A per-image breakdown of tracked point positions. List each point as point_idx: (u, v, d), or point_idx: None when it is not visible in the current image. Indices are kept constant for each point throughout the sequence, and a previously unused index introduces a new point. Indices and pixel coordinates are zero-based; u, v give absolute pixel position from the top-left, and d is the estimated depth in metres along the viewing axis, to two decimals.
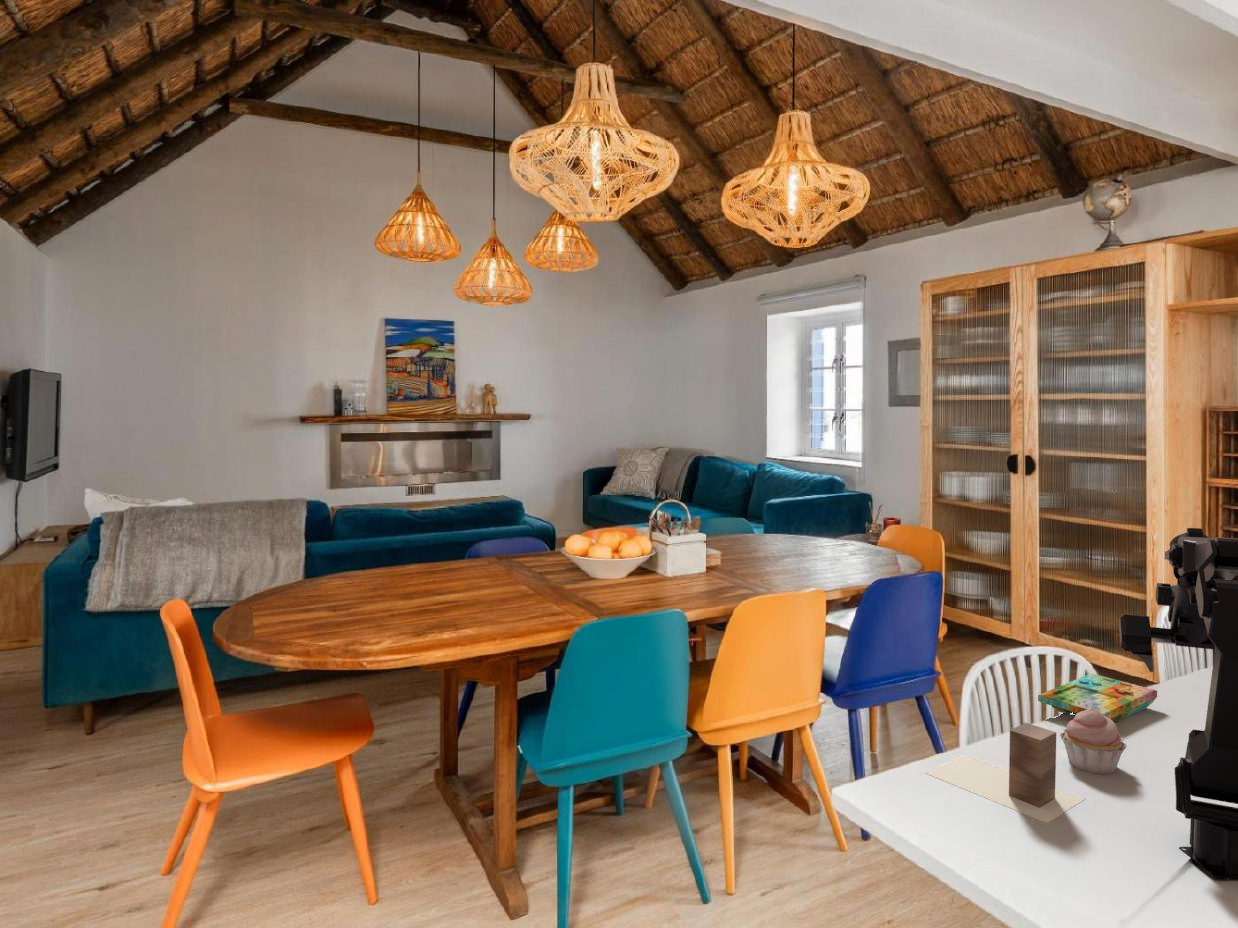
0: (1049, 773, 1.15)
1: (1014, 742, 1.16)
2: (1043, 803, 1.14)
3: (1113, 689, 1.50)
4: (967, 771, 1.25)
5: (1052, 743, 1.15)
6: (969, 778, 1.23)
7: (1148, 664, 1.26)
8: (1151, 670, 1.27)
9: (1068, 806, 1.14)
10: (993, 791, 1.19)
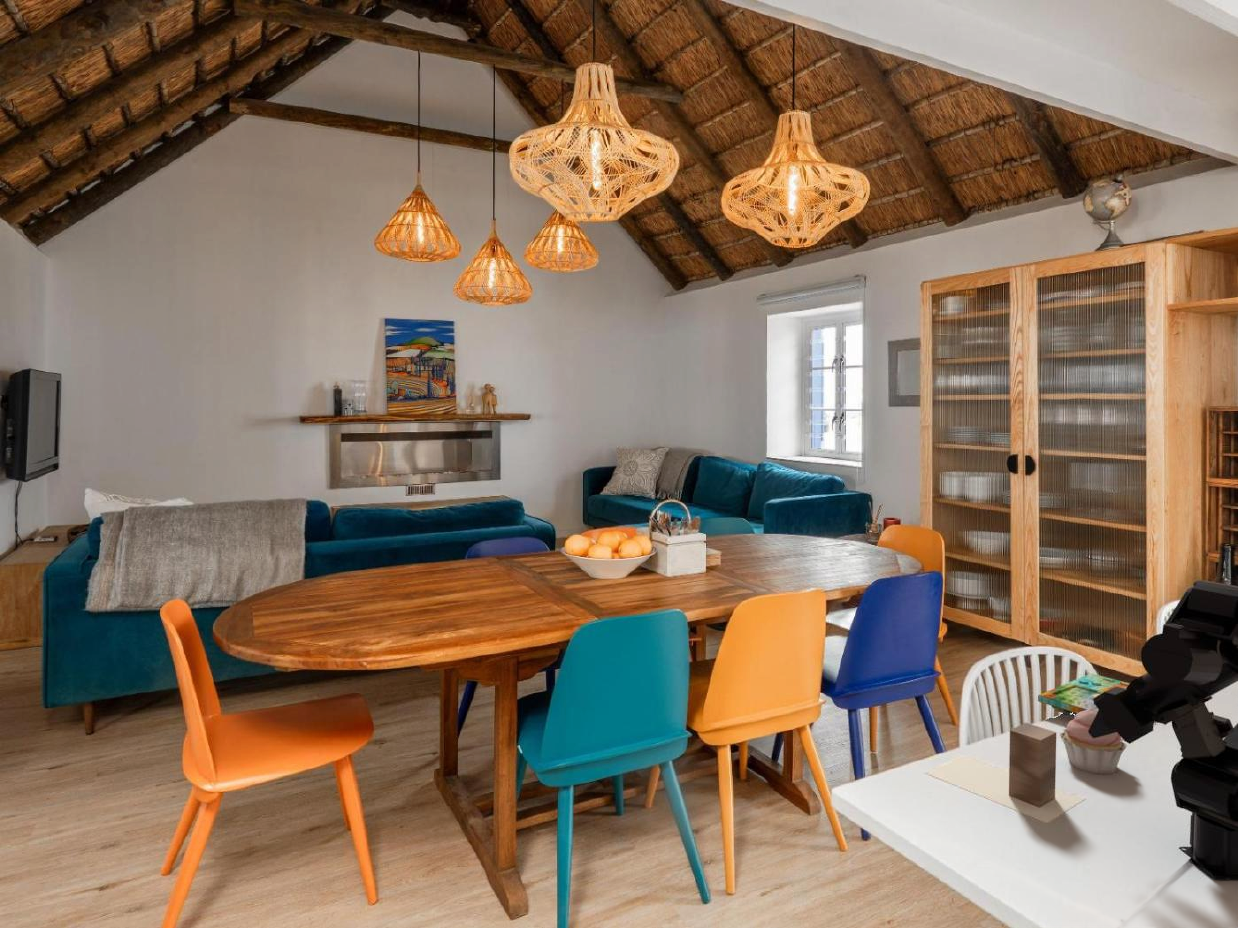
0: (1049, 773, 1.15)
1: (1014, 742, 1.16)
2: (1043, 803, 1.14)
3: None
4: (967, 771, 1.25)
5: (1052, 743, 1.15)
6: (969, 778, 1.23)
7: None
8: None
9: (1068, 806, 1.14)
10: (993, 791, 1.19)
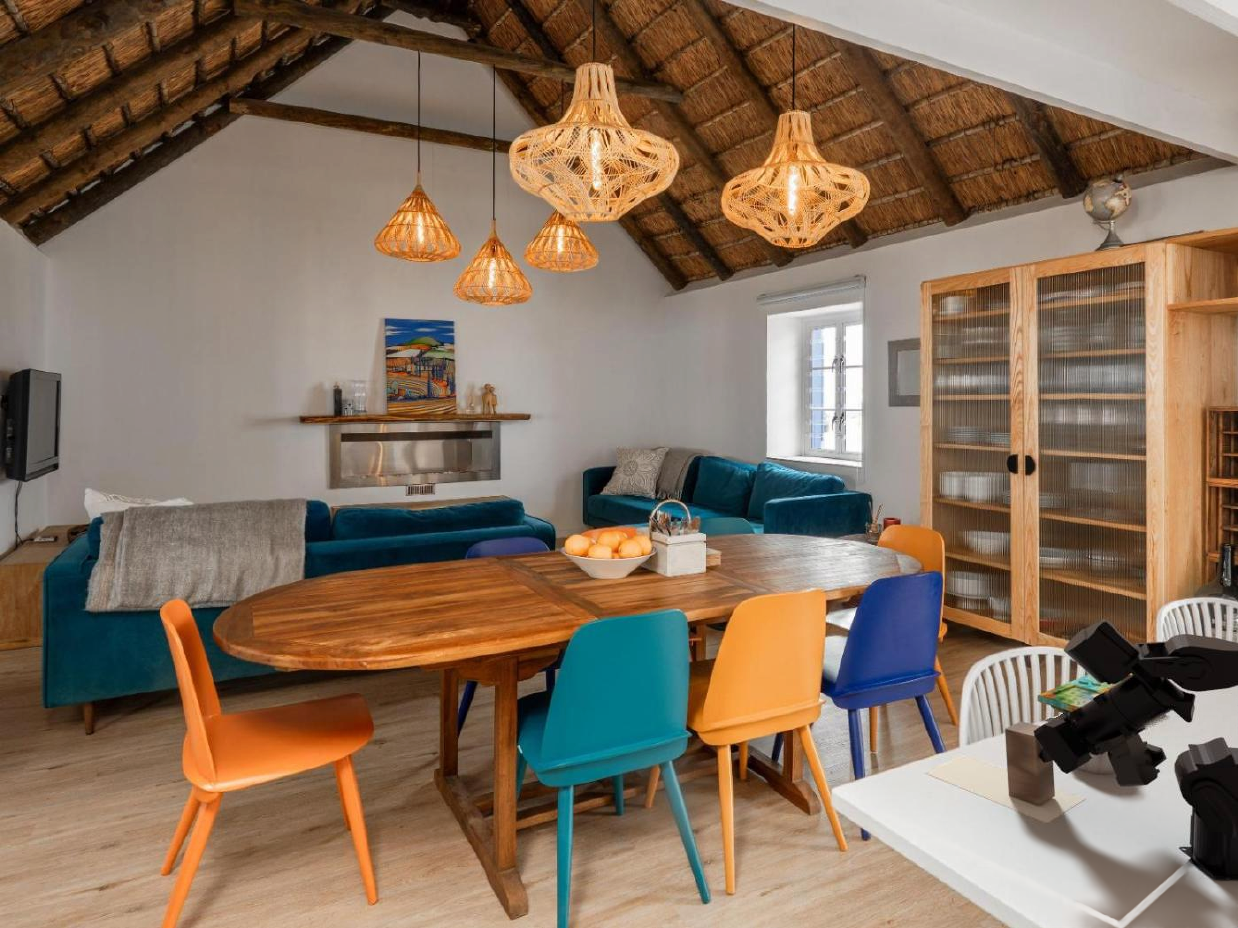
0: (1046, 770, 1.15)
1: (1010, 740, 1.17)
2: (1043, 801, 1.14)
3: None
4: (967, 771, 1.25)
5: None
6: (969, 778, 1.23)
7: None
8: None
9: (1068, 806, 1.14)
10: (993, 791, 1.19)
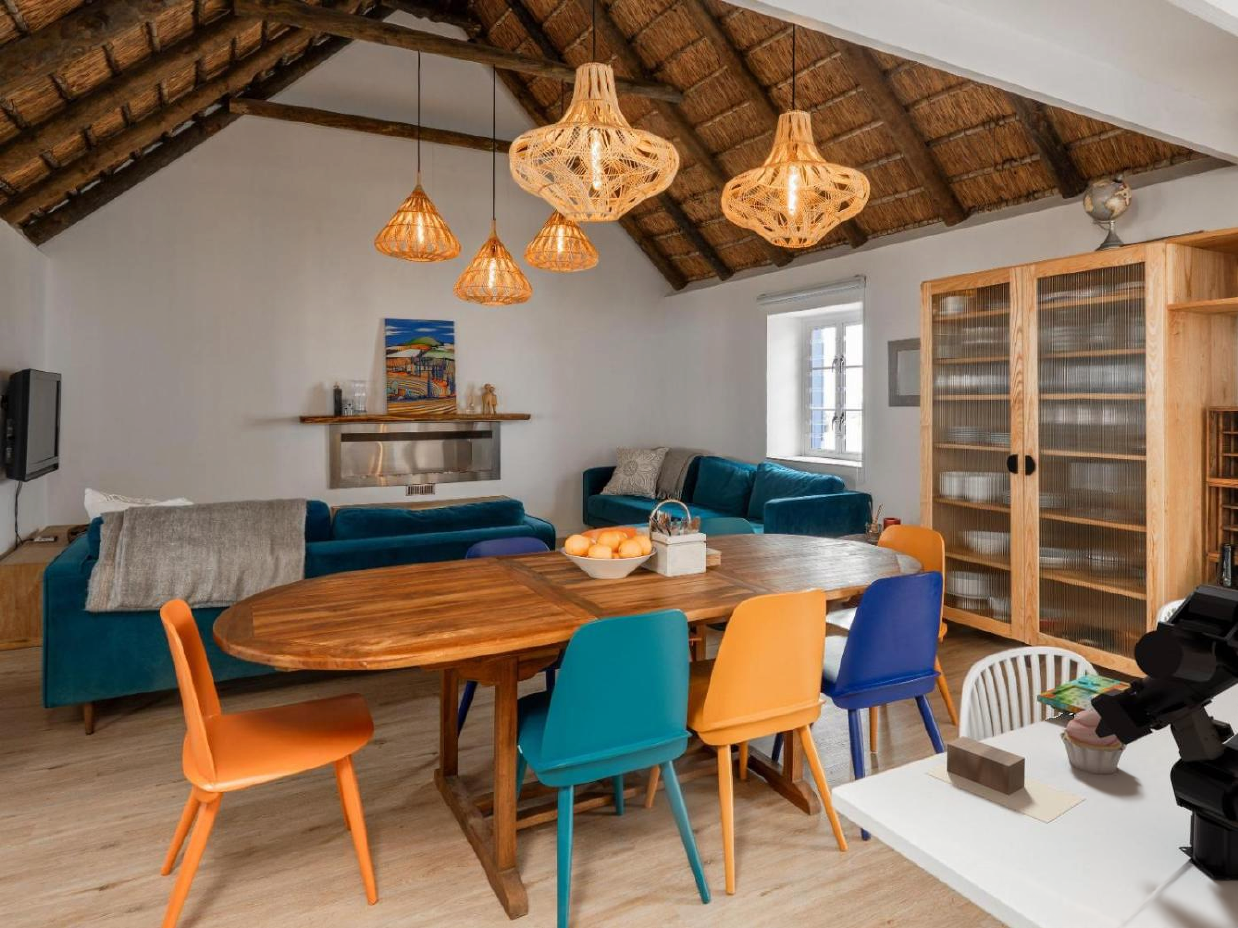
0: (990, 751, 1.22)
1: (956, 770, 1.24)
2: (1012, 763, 1.18)
3: None
4: None
5: (966, 740, 1.26)
6: None
7: None
8: None
9: (1068, 806, 1.14)
10: (993, 791, 1.19)
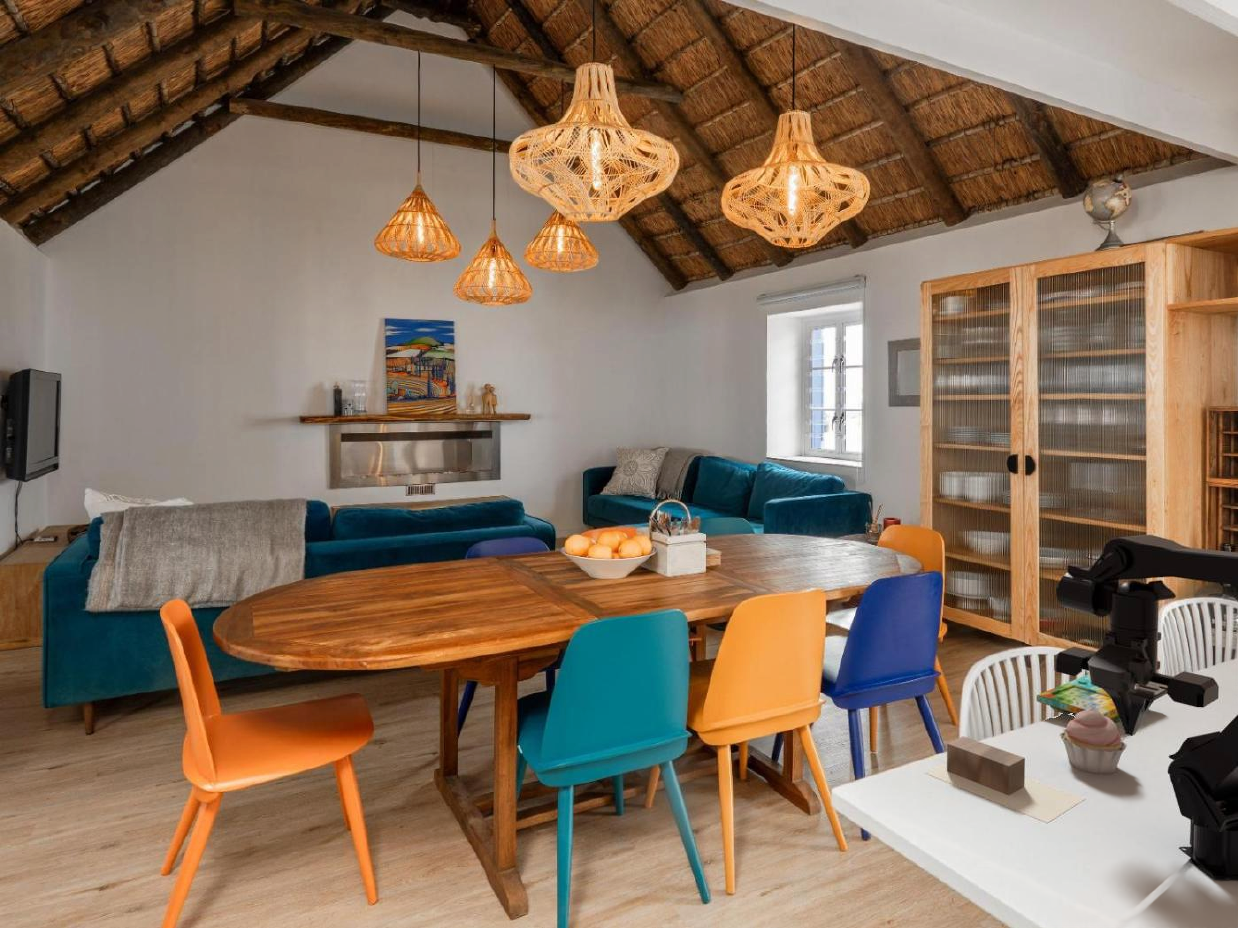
0: (990, 751, 1.22)
1: (956, 770, 1.24)
2: (1012, 763, 1.18)
3: None
4: None
5: (966, 740, 1.26)
6: None
7: None
8: None
9: (1068, 806, 1.14)
10: (993, 791, 1.19)
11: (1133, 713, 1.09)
